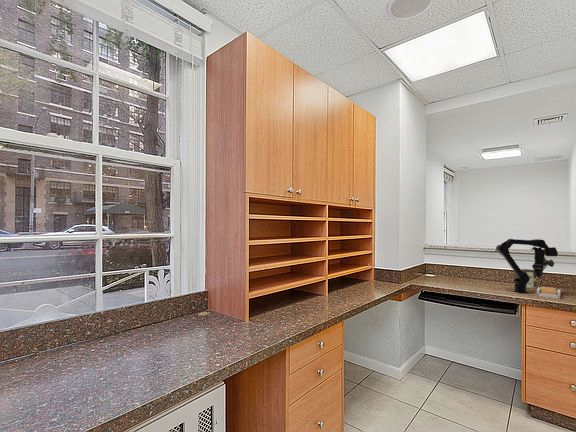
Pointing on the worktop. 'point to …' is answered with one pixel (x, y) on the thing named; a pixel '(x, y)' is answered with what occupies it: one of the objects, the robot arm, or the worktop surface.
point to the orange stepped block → (548, 290)
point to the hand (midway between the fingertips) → (539, 276)
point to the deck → (558, 294)
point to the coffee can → (531, 278)
